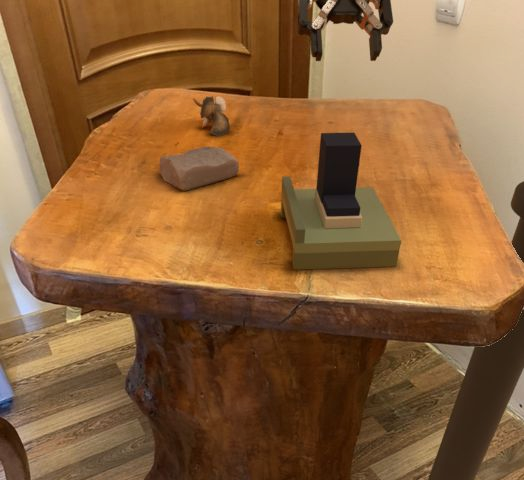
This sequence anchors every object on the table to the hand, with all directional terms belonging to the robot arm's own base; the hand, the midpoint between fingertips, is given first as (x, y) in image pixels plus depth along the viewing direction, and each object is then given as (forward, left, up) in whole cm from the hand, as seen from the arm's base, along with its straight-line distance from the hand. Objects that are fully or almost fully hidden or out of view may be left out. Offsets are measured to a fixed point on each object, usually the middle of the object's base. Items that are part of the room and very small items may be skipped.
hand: (347, 58), depth 84 cm
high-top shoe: (+4, +21, -15) cm, 26 cm away
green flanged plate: (+4, +21, -19) cm, 28 cm away
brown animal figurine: (+21, -25, -19) cm, 38 cm away
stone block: (+24, -2, -19) cm, 31 cm away
